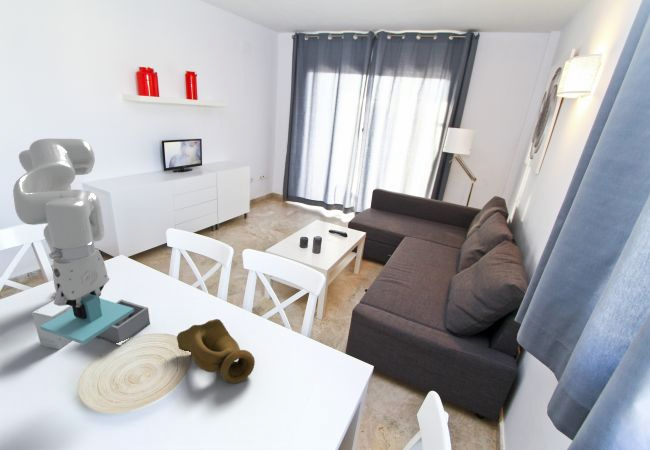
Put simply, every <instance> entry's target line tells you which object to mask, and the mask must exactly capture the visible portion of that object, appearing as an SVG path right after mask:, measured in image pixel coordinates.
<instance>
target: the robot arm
mask: <svg viewBox="0 0 650 450" xmlns="http://www.w3.org/2000/svg"><path fill="white" fill-rule="evenodd" d="M18 159H19V163H20V165H21V166H22V168H23V169H24V171H26V173H25V174H23V175H22V176H20V177H19V178H18V179H17V180H16V182H15V183H14V185H13V190H12V192H13V193H12V194H13V195H12V197H13V203H14V210H15V213H16V215H17V217H18V219H19V220H20V221H21V222H22V223H24V224H26V225H29V226H30V225H31V226H35V225H44V224H47V225H46V226H45V227H44V229H43V237H44V240H45V242H46V244H47V246H48V247H49V250H50V253H48V258H50V259H51V260H52V278H53V285H54V289H55V294H56V295H55V298H54V300H55V301H54V300H53V301H54V304H55V305H58V306H63V305H70V306H72V308H73V313H74V316H75V317H78V318H81V319H86V318H87V315H86V311H85V306H84V305H82V301H81V297H82V296H84V295H86V294H88V293H89V294H92V295H96V296H98V297H99V298H100V297H101V296H102V291H103V289H104V286H105V285H106V284H107V283H108V282H109V281H110V278H109V274H108V271H107V267H106V264H105V261H104V258H103V256H102V254H101V251H99V250H100V249H98V248H96V247H95V244H94V243H96V242H100V241H102V240H103V239H104V238H105V234H106V232H105V225H104V220H103V214H102V208H101V204H100V203H101V202H100V199H99V197H98V196H97V194H96V193H95V192H93V191H89V190H83V189H72V187H71V185H72V183H74V181H75V179H76V176H83V175H89V174H90V173H91V172H92V171H93V168H94V166H95V162H96V161H95V152H94V149H93V148H92V146H91V144H89V143H88V142H87V141H86V140H83V139H81V138H41V139H37V140H34V141H33V142H32V143H31V144H30V146H29V149H26V150H22V151H20V153H19V154H18ZM99 302H100V299H99Z"/></svg>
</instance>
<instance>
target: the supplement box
mask: <svg viewBox="0 0 650 450" xmlns="http://www.w3.org/2000/svg"><path fill="white" fill-rule="evenodd" d="M54 301H55V299H54V300H52V301H50V302H49V303H46V304H45V305H43V306H41V307H39V308H37V309H36V310H34V311H32V312H31V314H32V318H33V321H34V326H35V328H36V332H37V336H38V339H39V343H40V346H41V345H42V346H45V347H48V348H52V349H54V350H55V349H56V350H61V349H62V348H63V347H64V346H66V345H68V343H70V342H71V341H72V340H69V339H66V338H64V337H61V336H58V335H55V334H52V333H49V332H47V331H44V330H41V328H40V326H41V325H43V324H45V323H47V322H49V321H51V320H52V319H54V318H56V317H58V316H60V315H62V314H64V313H66V312H67V311H69V310H71V309H73V308H72V306H70V305H63V306H58V305H55V304H54ZM72 342H73V341H72Z"/></svg>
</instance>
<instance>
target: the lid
mask: <svg viewBox="0 0 650 450" xmlns="http://www.w3.org/2000/svg"><path fill="white" fill-rule="evenodd" d="M99 299H100V302H99ZM81 301H82V305H84V306H85V311H86V315H87V318H86V319H81V318H78V317H75V316H74V313H73V309H71V310H69V311H67V312H66V313H64V314H62V315H60V316H58V317H56V318H54V319H52V320H51V321H49V322H47V323H45V324H43V325H41V326H40V328H41V330H44V331H47V332H49V333H52V334H55V335H58V336H61V337H64V338H66V339H69V340H72V342H75V343H78V344H80V345H86V344H87V343H89V342H90V341H92V340H93V339H94V338H97V337H96V336H98V335H99V334H101V333H102V332H104V331H105V330H107V329H108V328H110V327H111V326H113V325H114V324H116V323H117V322H119V321H120V320H122V319H123V318H125V317H126V316H128V315H129V314H131V313H133V312H134V308H131V307H128V306H124V305H121V304H118V303H116V302H114V301H111V300H107V299H104V298H101V297H100V296H99V297H98V296H96V295H92V294H89V293H88V294H86V295H84V296H82V297H81Z"/></svg>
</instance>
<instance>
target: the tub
mask: <svg viewBox="0 0 650 450" xmlns="http://www.w3.org/2000/svg"><path fill="white" fill-rule="evenodd" d="M115 303H118V304H121V305H124V306H128V307H131V308H134V312H133V313H131V314H129V315H128V316H126V317H125V318H123V319H122V320H120V321H119V322H117V323H116V324H114V325H113V326H111V327H110V328H108V329H107V330H105V331H104V332H102V333H101V334H99V335H98V336H96V337H95V338H98V339H100V340H103V341H106V342H109V343H111V344H114V345H116V343H119V342H121V341H124V340H126V339H128V338H130V337H132V338H134V337H135V336H136V335H137V334H138V333H140V332H142V331H143V330H144V329H146V328H147V327H149V325H151V320H150V312H149V307H147V306H144V305H140V304H138V303H134V302H130V301H128V300H124V299H120V300H118V301H117V302H115Z"/></svg>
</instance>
